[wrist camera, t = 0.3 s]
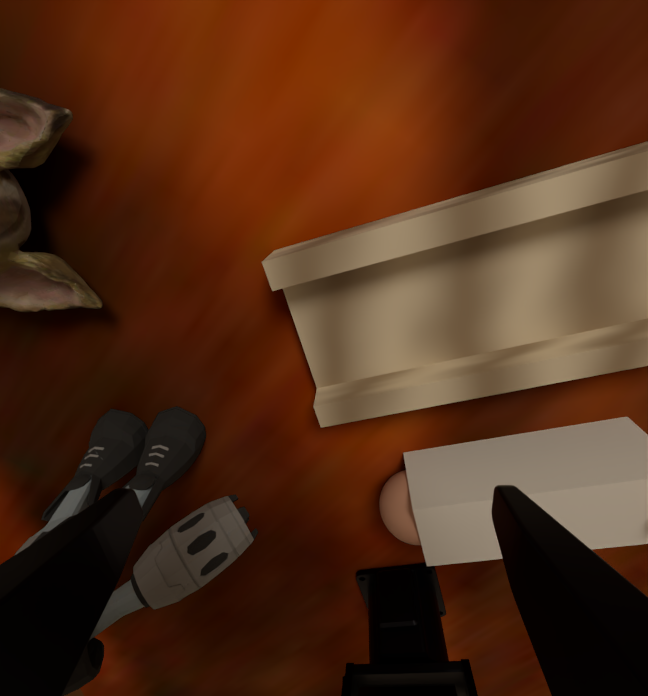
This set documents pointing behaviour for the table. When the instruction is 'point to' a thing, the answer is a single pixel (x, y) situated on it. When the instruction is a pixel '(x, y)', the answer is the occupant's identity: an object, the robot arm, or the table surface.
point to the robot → (151, 478)
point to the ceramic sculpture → (14, 213)
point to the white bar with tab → (522, 489)
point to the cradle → (476, 292)
